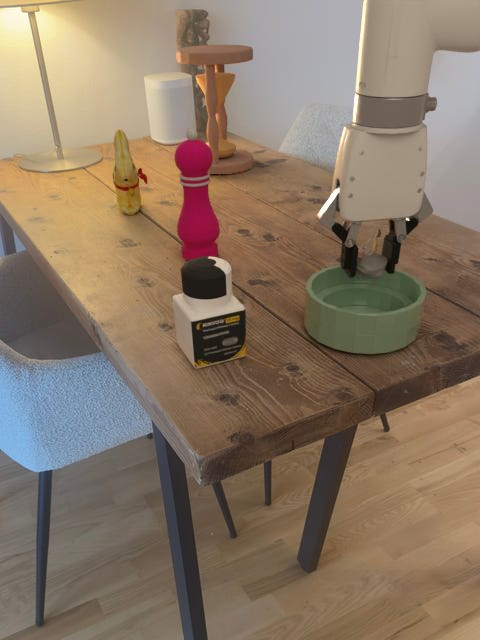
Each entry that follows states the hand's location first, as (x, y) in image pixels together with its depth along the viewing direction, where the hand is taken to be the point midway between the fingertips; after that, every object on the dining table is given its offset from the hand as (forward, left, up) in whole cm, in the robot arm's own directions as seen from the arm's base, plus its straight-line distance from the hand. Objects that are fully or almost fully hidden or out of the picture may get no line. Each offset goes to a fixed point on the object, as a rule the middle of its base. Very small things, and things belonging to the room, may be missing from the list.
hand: (368, 270), depth 72 cm
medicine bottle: (+21, +2, -9) cm, 23 cm away
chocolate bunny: (+30, -58, -9) cm, 66 cm away
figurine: (0, 0, -1) cm, 1 cm away
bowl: (0, 0, -8) cm, 8 cm away
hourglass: (+8, -87, -9) cm, 88 cm away
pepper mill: (+19, -30, -9) cm, 37 cm away
